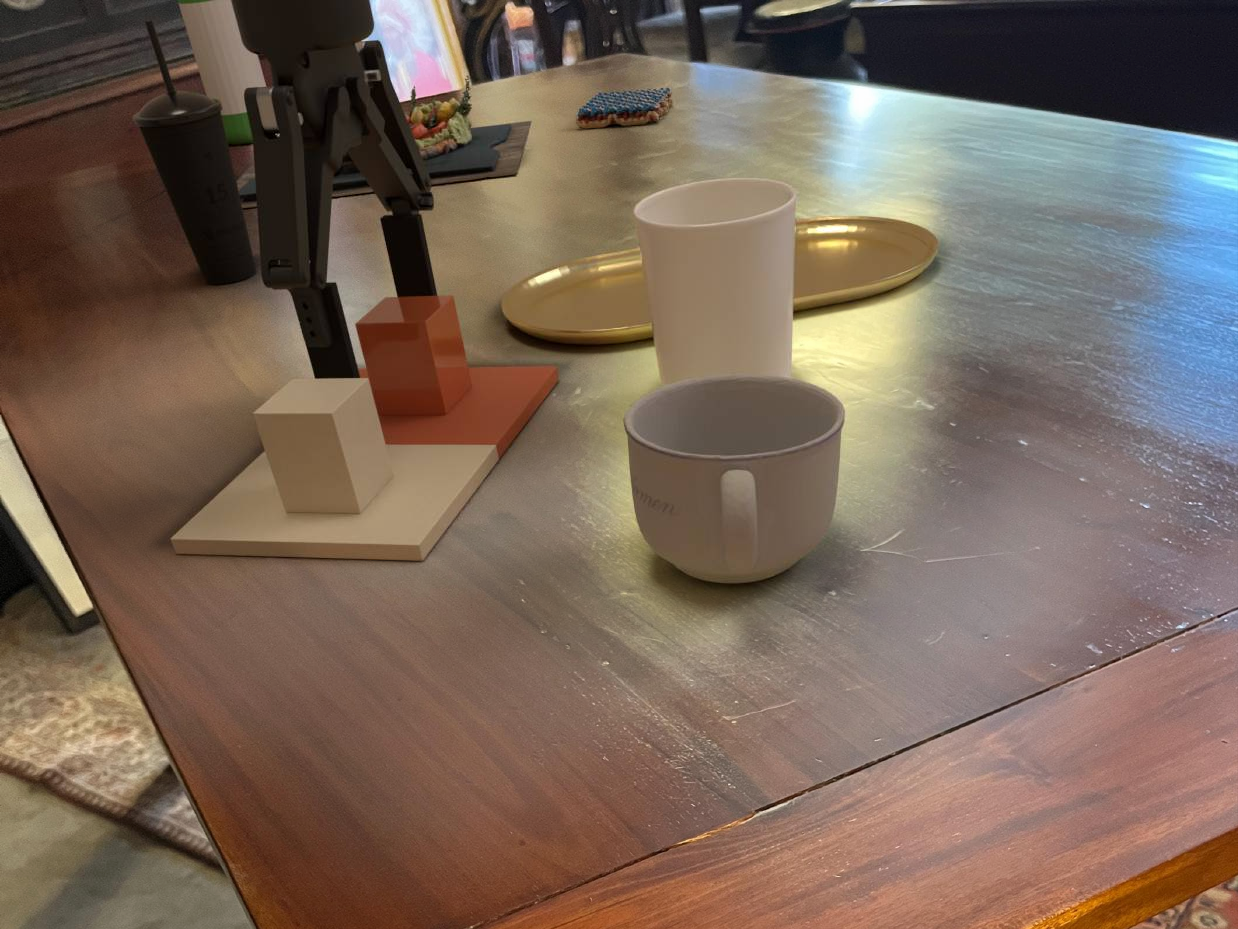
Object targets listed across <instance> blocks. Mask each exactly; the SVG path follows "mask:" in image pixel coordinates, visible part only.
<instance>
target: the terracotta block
mask: <svg viewBox="0 0 1238 929" xmlns="http://www.w3.org/2000/svg"><path fill="white" fill-rule="evenodd" d="M459 320H460V319H459V315H458V310H457V306H456V301H455V296H454V295H453V294H447V295H437V296H413V297H397V296H385V297H384V298H383V299H382V300H381V301H379V302H378V303H377V304H376V305H374V306H373V308H371V310H368V312H366V314H364V315H363V316H362V317H361V318H360V319H359V320H358V321H356V322H355V323H354V326H355V329H356V334H357V337H358V342H359V345H360V349H361V352H362V356H363V361H364V364H365V369H367V372H368V376H369V379H370V383H371V387H372V391H373V395H374V398H375V402H376V406H377V410H378V414H379V415H447V414H448V412H449V411H450V410H451V409H452V408H453V407H454V406H455V404H456V403H457V402H458V401H459V400H460V399H461V398H462V396H463V395H464V394H465V393H466V392H467V391H468V390H469V388H470V387H471V386H472V383H471V378H470V373H469V369H468V367H469V364H468V360H467V356H466V350H465V345H464V340H463V336H462V330H461V325H460V321H459Z"/></svg>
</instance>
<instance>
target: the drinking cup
mask: <svg viewBox="0 0 1238 929" xmlns="http://www.w3.org/2000/svg"><path fill="white" fill-rule="evenodd" d="M144 25H145V28H146V31H147V34H148V38H149V40H150V43H151V46H152V49H153V53H154V56H155V59H156V62H157V65H158V67H159V72H160V74H161V77H162V80H163V84H164V87H165V90H166V93H162V94H161V95H158V96H156V97H154V98H152V99H150V100H149V101H147V103H145V104H144V105H143V106H142V108H141V109H140V110H139V111H138V112H136V113H135V114H133V116H132V121H133V124H134V125H135V126H137V127H138V128H139V130H140V133H141V135H142V137H143V140H144V142H145V144H146V146H147V149H148V152H149V153H150V156H151V158H152V161H153V163H154V165H155V168H156V170H157V172H158V174H159V178H160V179H161V181H162V184H163V186H164V188H165V191H166V192H167V196H168V198H169V200H170V202H171V205H172V207H173V209H174V212H175V214H176V216H177V219H178V221H179V223H180V226H181V228H182V231H183V232H184V235H185V237H186V240H187V242H188V244H189V246H190V249H191V251H192V254H193V256H194V259H195V261H196V263H197V265H198V268H199V270H200V272H201V274H202V277H203V279H204V282H205V283H206V284H209V285H214V286H215V285H216V286H217V285H227V284H233V283H237V282H242V281H244V280H247V279H249V278H251V277H253V276H254V275H255V274H256V273H257V268H256V262H255V259H254V254H253V249H252V246H251V241H250V240H251V239H250V236H249V232H248V227H247V224H246V223H247V222H246V219H245V214H244V208H242V205H241V200H240V196H239V191H238V187H237V178H236V174H235V169H234V164H233V160H232V156H231V155H232V154H231V151H230V146H229V144H228V142H227V138H226V133H225V129H224V124H223V120H222V115H221V110H222V109H223V106H222V103H221V101H220V100H217V99H211V98H209V97H207V96H206V94H202V93H199V92H196V91H195V92H194V91H187V90H185V91H184V90H176V89H175V86H174V82H173V79H172V77H171V74H170V70H169V67H168V65H167V61H166V58H165V54H164V52H163V49H162V46H161V42H160V38H159V36H158V33H157V30H156V27H155V23H154V20H153V19H147V20H144Z"/></svg>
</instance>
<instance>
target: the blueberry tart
mask: <svg viewBox="0 0 1238 929" xmlns="http://www.w3.org/2000/svg"><path fill="white" fill-rule="evenodd" d="M672 95H673V91H672V89H670V87H666V88H665V89H664V87H660V88H659V89H658V90H657V89H656V88H653V89H652V90H651V88H647V90H644V89H640V91H639V89H635V90H634V91H631V90H628V91H626V90H623V91H621V92H619V91H615V93H614V91H610V93H607V92H603V93H602V92H598V93H597V94H595V95H594V96H593V97H592V98H591V99H589V100H588V102H585V104H584V105H583V106H582V107H581V108H578V111H577V118H576V119H575V120H574V123H575V124H576V125H577V126H578V127H580V128H583V129H595V128H605V127H608V126H609V125H611V124H612V125H620V126H622V127H623V126H636V125H637V126H638V125H644V124H647V123H648V122H659V120H660V117H663V115H666V114H669V110H670V107H673V106H674V99H673V98H672Z"/></svg>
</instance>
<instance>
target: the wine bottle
mask: <svg viewBox="0 0 1238 929" xmlns="http://www.w3.org/2000/svg"><path fill="white" fill-rule="evenodd" d="M177 2H178V7H179V9H180V13H181V16H182V19H183V23H184V26H185V29H186V32H187V36H188V39H189V42H190V46H191V49H192V53H193V56H194V59H195V63H196V65H197V66H196V67H197V70H198V72H199V76H200V79H201V82H202V85H203V88H204V92H205V96H207V97H209V98H211V99H217V100H220V101H221V103H222V106H223V109H222V110H221V115H222V120H223V124H224V129H225V133H226V138H227V142H228V145H232V146H240V145H241V146H242V145H249V144H253V137H252V133H251V128H250V124H249V119H248V115H247V110H246V106H245V101H244V91H245V89H246V88H251V87H267V84H266V80H265V76H264V73H263V69H262V65H261V62H260V58H259V55H257V54H254V53H251V52H250V51H248V50H247V49H246V48H245V46H244V45H243V43H242V40H241V36H240V32H239V28H238V25H237V21H236V17H235V13H234V10H233V6H232V2H231V0H177Z"/></svg>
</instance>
